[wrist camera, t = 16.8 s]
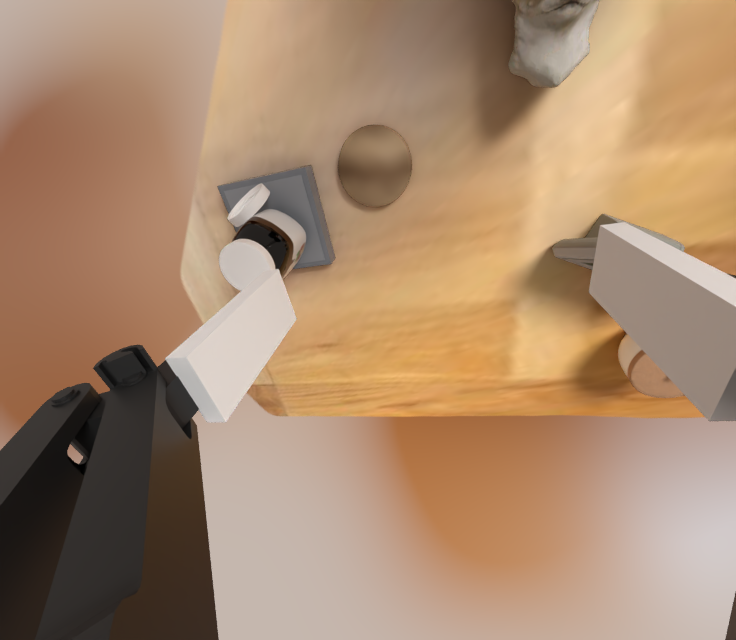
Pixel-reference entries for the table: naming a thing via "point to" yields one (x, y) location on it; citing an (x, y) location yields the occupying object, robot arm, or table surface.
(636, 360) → the lidded jar
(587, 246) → the digital clock
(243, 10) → the table surface
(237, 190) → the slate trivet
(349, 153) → the oak coaster
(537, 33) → the ceramic sculpture
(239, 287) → the spread jar
